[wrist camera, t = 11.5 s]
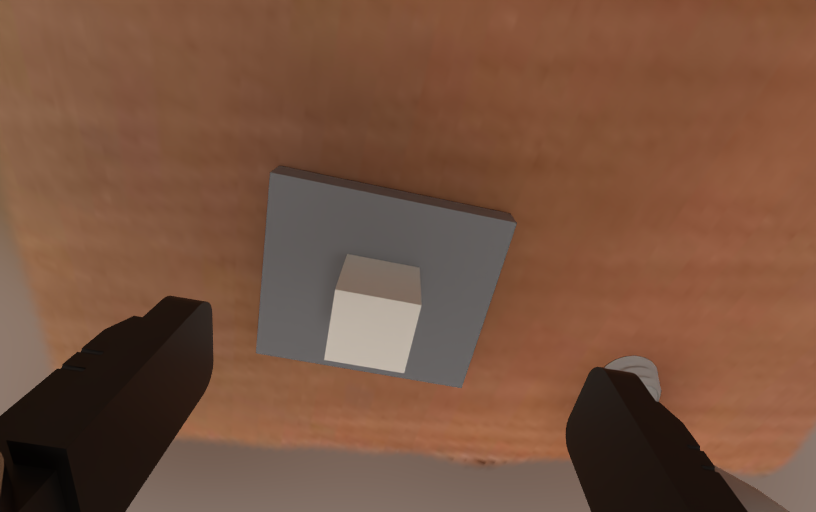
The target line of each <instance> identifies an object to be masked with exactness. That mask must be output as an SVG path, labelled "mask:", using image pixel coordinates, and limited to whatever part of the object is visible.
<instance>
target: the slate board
mask: <svg viewBox="0 0 816 512" xmlns="http://www.w3.org/2000/svg"><path fill="white" fill-rule="evenodd" d="M516 224H517V222H516V221H515V220H514V218H513V217H512V215H511V214H510V213H506V212H501V211H496V210H491V209H486V208H482V207H477V206H472V205H467V204H462V203H457V202H453V201H448V200H443V199H438V198H433V197H428V196H424V195H419V194H414V193H409V192H404V191H399V190H395V189H390V188H385V187H380V186H375V185H371V184H366V183H361V182H356V181H351V180H346V179H342V178H337V177H332V176H327V175H322V174H317V173H313V172H308V171H303V170H298V169H293V168H288V167H284V166H278V167H277V168H275V169H274V170H273V171H271V172H270V180H269V193H268V206H267V219H266V231H265V244H264V257H263V270H262V283H261V296H260V309H259V321H258V334H257V347H256V353H258V354H264V355H270V356H276V357H281V358H287V359H293V360H299V361H305V362H311V363H317V364H323V365H329V366H334V367H340V368H346V369H352V370H358V371H364V372H370V373H376V374H382V375H388V376H393V377H399V378H405V379H411V380H417V381H423V382H429V383H435V384H441V385H446V386H452V387H458V388H462V385H463V382H464V379H465V376H466V373H467V370H468V367H469V364H470V361H471V358H472V355H473V352H474V349H475V346H476V343H477V340H478V337H479V334H480V332H481V329H482V326H483V323H484V320H485V317H486V314H487V311H488V308H489V305H490V302H491V299H492V296H493V293H494V290H495V287H496V284H497V281H498V278H499V275H500V272H501V269H502V266H503V263H504V260H505V257H506V254H507V251H508V248H509V245H510V242H511V239H512V236H513V233H514V230H515V227H516ZM347 254H350V255H356V256H361V257H366V258H371V259H377V260H382V261H387V262H392V263H398V264H403V265H408V266H414V267H419V268H420V284H421V303H422V306H421V310H420V314H419V317H418V321H417V325H416V329H415V333H414V337H413V341H412V345H411V349H410V353H409V356H408V360H407V364H406V368H405V372H404V373H399V372H393V371H387V370H381V369H375V368H369V367H363V366H357V365H351V364H345V363H339V362H333V361H328V360H324V357H325V351H326V345H327V338H328V332H329V325H330V319H331V313H332V306H333V300H334V293H335V288H336V285H337V282H338V279H339V276H340V274H341V271H342V268H343V265H344V262H345V259H346V256H347Z"/></svg>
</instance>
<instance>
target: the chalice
mask: <svg viewBox="0 0 816 512" xmlns="http://www.w3.org/2000/svg"><path fill="white" fill-rule="evenodd" d="M605 368H607V369H613V370H619V371H625V372H632V373H634V374H636V375H637V376H638V377H639V378H640V379H641V381H642V382H643V384H644V385H645V386H646V388H647V389H648V391H649V392H650V394H651V395H652V396H653V398H654V399H655V401H657V402H658V401H659V398H660V395H661V388H660V382H659V378H658V372H657V368H656V366H655V365H654V364H653V362H652V361H650V360H648V359H646V358H644V357H639V356H626V357H623V358H619V359H616V360H614V361H613V362H611V363H609V364H608V365H606V366H605ZM714 466H715V465H714ZM715 472H719V473H720V474H721V476H722V477H723V478H724V480H725V481H726V483H727V484H728V485H729V487H730V488H731V489H732V491H733V492H734V493H735V495H736V496H737V497H738V499H739V500H740V502H741V503H742V504H743V506H744V507H745V508H746V510H747V511H748V512H789V511H788V510H786V509H785V508H783V507H782V506H781V505H779V504H778V503H776V502H775V501H773V500H772V499H770V498H769V497H768V496H766V495H765V494H763V493H762V492H761V491H759V490H758V489H756V488H754V487H752V486H751V485H749V484H747V483H745V482H743V481H742V480H740V479H738V478H736V477H734V476H733V475H731V474H729V473H727V472H725V471H724V470H722V469H720V468H718V467H716V466H715Z"/></svg>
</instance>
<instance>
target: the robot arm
mask: <svg viewBox="0 0 816 512" xmlns="http://www.w3.org/2000/svg"><path fill="white" fill-rule="evenodd" d="M212 370H213V325H212V308H211V305H210V303H208V302H205V301H199V300H193V299H187V298H180V297H174V296H167V297H165V298H164V299H162V300H161V301H160V302H159V303H158V304H157V305H156V306H155V307H154V308H152V309H151V310H150V311H149V312H148V313H147V314H146V315H145V316H144V317H137V316H133V317H131V318H128V319H126V320H124V321H122V322H120V323H118V324H115V325H113V326H111V327H109V328H107V329H105V330H103V331H102V332H101V333H100V334H99V335H97V336H96V337H95V338H94V339H92V340H91V341H90V342H89V343H88V344H86V345H85V346H84V347H83V348H82V351H81V352H77V353H76V354H74V355H73V356H72V357H71V358H70V359H68V360H67V361H66V362H65V363H64V364H63V365H62V368H61V369H56V370H55V371H54V372H53V373H51V374H50V375H49V376H48V377H47V378H45V379H44V380H43V381H42V382H41V383H39V384H38V385H37V386H36V387H35V388H33V389H32V390H31V391H30V392H29V393H28V394H26V395H25V396H24V397H23V398H21V399H20V400H19V401H18V402H17V403H15V404H14V405H13V406H12V407H10V408H9V409H8V410H7V411H6V412H4V413H3V414H2V415H1V416H0V512H125V511H126V510H127V508H128V507H129V505H130V504H131V502H132V501H133V499H134V498H135V496H136V495H137V493H138V492H139V490H140V489H141V487H142V486H143V484H144V483H145V481H146V480H147V478H148V477H149V475H150V474H151V472H152V471H153V469H154V468H155V466H156V465H157V463H158V462H159V460H160V459H161V457H162V456H163V454H164V452H165V451H166V450H167V448H168V447H169V445H170V444H171V442H172V441H173V439H174V438H175V436H176V435H177V433H178V432H179V430H180V429H181V427H182V426H183V424H184V423H185V421H186V420H187V418H188V417H189V415H190V414H191V412H192V411H193V409H194V408H195V406H196V405H197V403H198V402H199V400H200V399H201V397H202V396H203V394H204V392H205V390H206V389H207V386H208V384H209V381H210V378H211V374H212ZM566 444H567V449H568V452H569V455H570V457H571V460H572V463H573V465H574V468H575V470H576V473H577V476H578V478H579V481H580V484H581V486H582V489H583V491H584V494H585V497H586V499H587V502H588V504H589V507H590V510H591V512H748V511H747V510H746V508H745V507H744V506H743V504H742V503H741V502H740V500H739V499H738V497H737V496H736V495H735V493H734V492H733V491H732V489H731V488H730V487H729V485H728V484H727V483H726V481H725V480H724V478H723V477H722V476H721V474H720V473H719V472H715V466H714V465H713V463H712V462H711V461H710V459H709V458H708V457H707V455H706V454H705V453H704V451H700V446H699V444H698V443H697V442H696V440H695V439H694V438H693V436H692V435H691V433H690V432H689V431H688V429H687V428H686V427H685V425H684V424H683V423H682V422H681V421H680V420H679V419H678V418H677V417H675V416H674V415H673V414H672V413H671V412H670V411H669V410H667V409H666V408H665V407H664V406H663V405H662V404H661V403H660V402H657V401H655V399H654V398H653V396H652V395H651V394H650V392H649V391H648V389H647V388H646V386H645V385H644V384H643V382H642V381H641V379H640V378H639V377H638V376H637V375H636V374H634V373H632V372H625V371H619V370H613V369H607V368H601V367H595V368H593V369H592V370H591V371H590V373H589V375H588V377H587V379H586V381H585V383H584V386H583V388H582V390H581V392H580V394H579V397H578V399H577V401H576V403H575V406H574V408H573V410H572V412H571V414H570V417H569V419H568V422H567V427H566Z"/></svg>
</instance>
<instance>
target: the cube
mask: <svg viewBox="0 0 816 512" xmlns="http://www.w3.org/2000/svg"><path fill="white" fill-rule="evenodd" d="M421 306H422V303H421V284H420V268H419V267H414V266H408V265H403V264H398V263H392V262H387V261H382V260H377V259H371V258H366V257H361V256H356V255H350V254H347V256H346V259H345V262H344V265H343V268H342V271H341V274H340V276H339V279H338V282H337V285H336V288H335V293H334V300H333V306H332V313H331V319H330V325H329V332H328V338H327V345H326V351H325V357H324V360H328V361H333V362H339V363H345V364H351V365H357V366H363V367H369V368H375V369H381V370H387V371H393V372H399V373H404V372H405V368H406V364H407V360H408V356H409V353H410V349H411V345H412V341H413V337H414V333H415V329H416V325H417V321H418V317H419V314H420V310H421Z"/></svg>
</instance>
